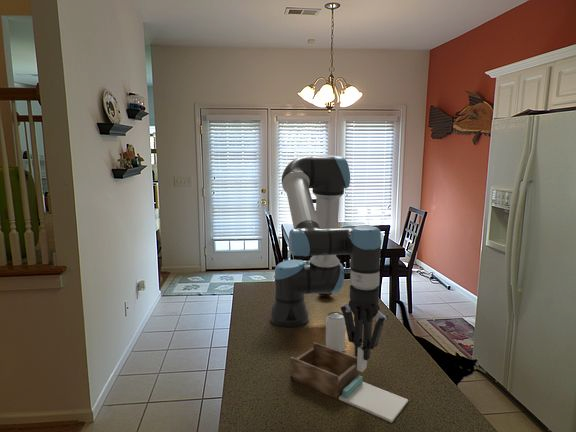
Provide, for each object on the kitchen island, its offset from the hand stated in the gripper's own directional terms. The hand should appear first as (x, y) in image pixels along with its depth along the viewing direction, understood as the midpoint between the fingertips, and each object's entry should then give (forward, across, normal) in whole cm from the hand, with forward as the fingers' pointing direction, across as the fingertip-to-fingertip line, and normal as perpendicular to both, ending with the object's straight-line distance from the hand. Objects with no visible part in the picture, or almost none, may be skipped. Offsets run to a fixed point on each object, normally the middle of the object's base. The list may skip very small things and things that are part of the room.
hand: (361, 369), depth 106 cm
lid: (+8, +4, 0) cm, 9 cm away
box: (+7, -12, 0) cm, 14 cm away
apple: (+8, -49, +56) cm, 75 cm away
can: (+8, -19, +17) cm, 27 cm away
